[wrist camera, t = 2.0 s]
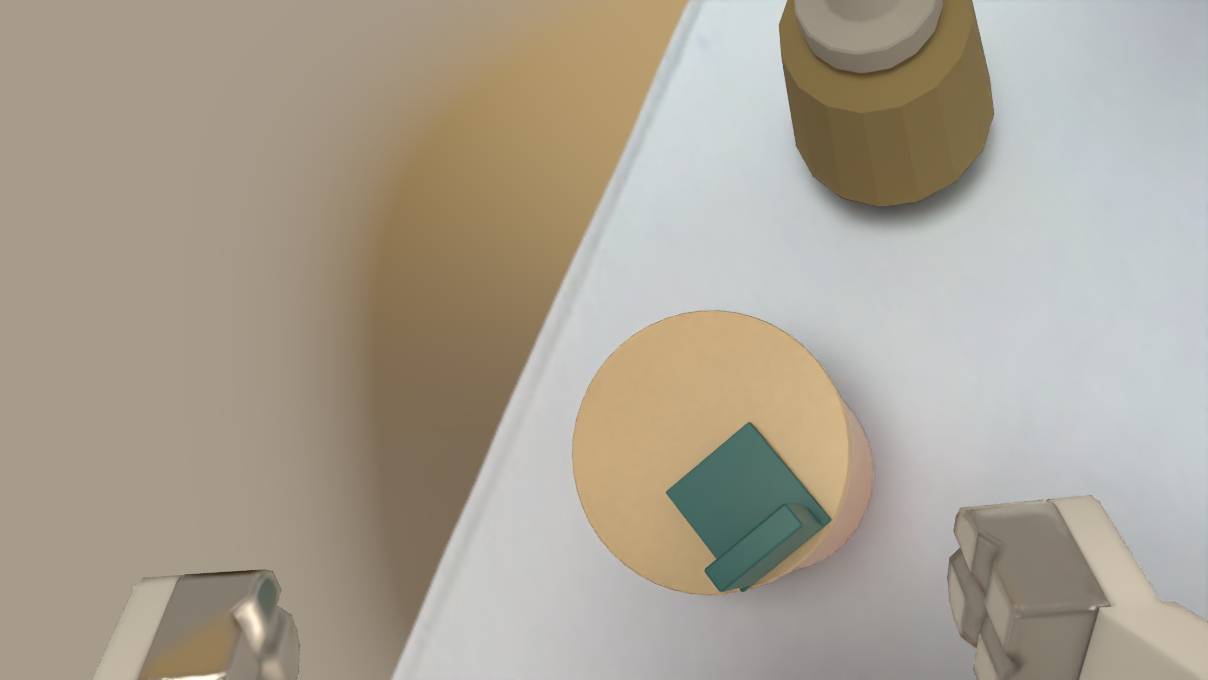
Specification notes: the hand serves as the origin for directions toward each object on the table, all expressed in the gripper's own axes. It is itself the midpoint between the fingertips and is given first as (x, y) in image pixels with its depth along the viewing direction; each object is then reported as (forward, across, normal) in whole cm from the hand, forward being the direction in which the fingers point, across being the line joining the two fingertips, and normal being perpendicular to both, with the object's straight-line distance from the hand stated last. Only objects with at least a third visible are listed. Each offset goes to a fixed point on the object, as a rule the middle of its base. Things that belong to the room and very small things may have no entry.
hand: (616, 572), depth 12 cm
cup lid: (+18, -3, +14) cm, 23 cm away
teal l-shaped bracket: (+15, -4, +14) cm, 21 cm away
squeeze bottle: (+34, -13, +11) cm, 38 cm away
